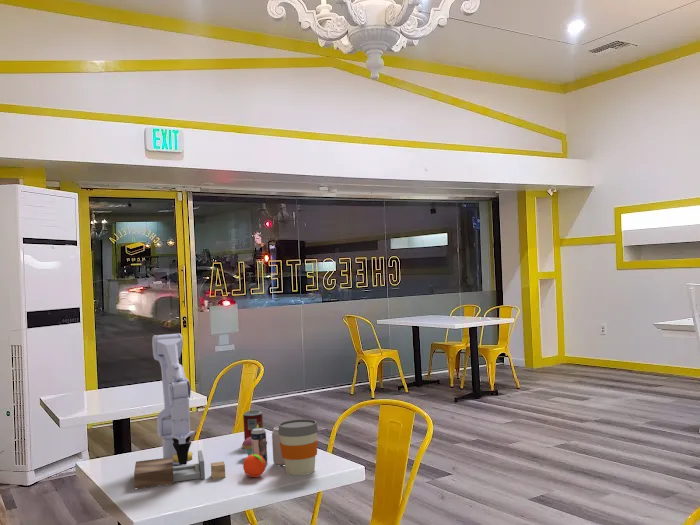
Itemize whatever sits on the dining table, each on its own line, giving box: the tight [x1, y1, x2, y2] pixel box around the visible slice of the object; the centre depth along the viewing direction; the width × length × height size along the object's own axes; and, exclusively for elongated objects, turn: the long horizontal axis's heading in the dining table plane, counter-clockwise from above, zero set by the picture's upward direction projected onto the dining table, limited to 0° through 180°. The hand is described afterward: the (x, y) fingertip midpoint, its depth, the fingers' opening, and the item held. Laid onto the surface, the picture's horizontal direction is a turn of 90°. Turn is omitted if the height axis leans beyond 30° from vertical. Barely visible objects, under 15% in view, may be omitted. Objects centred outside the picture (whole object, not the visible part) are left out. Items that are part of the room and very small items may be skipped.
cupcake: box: [241, 425, 268, 457], centre depth 229 cm, size 9×8×12 cm
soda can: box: [242, 410, 264, 441], centre depth 247 cm, size 7×7×12 cm
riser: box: [210, 460, 226, 480], centre depth 208 cm, size 4×4×4 cm
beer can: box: [251, 427, 268, 466], centre depth 217 cm, size 5×5×12 cm
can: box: [271, 425, 285, 467], centre depth 219 cm, size 8×8×12 cm
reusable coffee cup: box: [278, 418, 319, 476], centre depth 209 cm, size 12×13×15 cm
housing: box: [133, 457, 175, 489], centre depth 208 cm, size 15×11×4 cm
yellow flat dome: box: [173, 451, 193, 463], centre depth 211 cm, size 6×6×2 cm
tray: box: [173, 450, 206, 483], centre depth 211 cm, size 14×12×6 cm
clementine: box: [242, 454, 267, 478], centre depth 205 cm, size 8×7×7 cm
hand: (182, 462), depth 211 cm, fingers closed on yellow flat dome, 6 cm apart
